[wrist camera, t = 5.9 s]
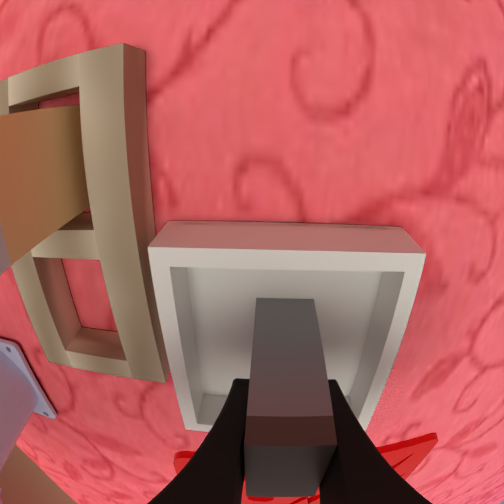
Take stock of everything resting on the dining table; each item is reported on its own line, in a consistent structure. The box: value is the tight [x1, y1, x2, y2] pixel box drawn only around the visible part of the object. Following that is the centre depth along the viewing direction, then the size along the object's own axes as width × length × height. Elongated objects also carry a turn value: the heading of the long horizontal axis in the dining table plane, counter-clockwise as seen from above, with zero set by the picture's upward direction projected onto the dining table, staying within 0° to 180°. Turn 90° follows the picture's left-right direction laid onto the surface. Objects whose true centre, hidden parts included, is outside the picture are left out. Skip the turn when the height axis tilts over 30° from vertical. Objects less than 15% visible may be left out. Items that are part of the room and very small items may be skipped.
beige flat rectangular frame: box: [0, 43, 170, 383], centre depth 12 cm, size 7×14×2 cm, turn 0°
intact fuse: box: [0, 105, 90, 275], centre depth 8 cm, size 2×4×7 cm, turn 0°
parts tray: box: [148, 221, 426, 432], centre depth 14 cm, size 9×10×2 cm
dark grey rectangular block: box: [244, 298, 337, 497], centre depth 11 cm, size 2×4×7 cm, turn 0°
